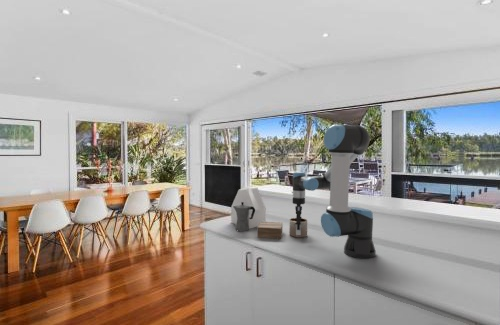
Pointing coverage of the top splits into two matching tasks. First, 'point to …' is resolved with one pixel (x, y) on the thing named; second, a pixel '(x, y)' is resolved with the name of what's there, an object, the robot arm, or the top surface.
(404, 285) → the top surface
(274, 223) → the plinth
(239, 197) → the white slotted block
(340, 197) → the robot arm
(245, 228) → the coffeepot
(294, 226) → the planter
